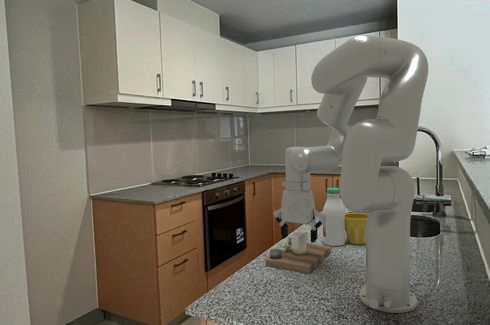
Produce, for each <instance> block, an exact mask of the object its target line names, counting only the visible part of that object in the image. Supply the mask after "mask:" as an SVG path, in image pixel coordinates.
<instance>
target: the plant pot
mask: <svg viewBox="0 0 490 325" xmlns="http://www.w3.org/2000/svg"><path fill="white" fill-rule="evenodd" d="M368 214H369V213H355V212H347V213H345V235H346V237H347V238H346V239H347V241H348V243H349V244H352V245H360V246H361V245H366V221H367V217H368Z"/></svg>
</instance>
